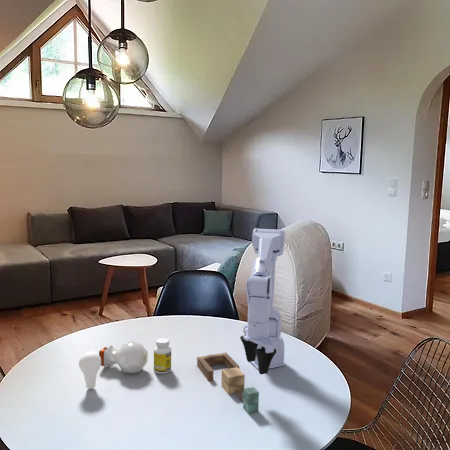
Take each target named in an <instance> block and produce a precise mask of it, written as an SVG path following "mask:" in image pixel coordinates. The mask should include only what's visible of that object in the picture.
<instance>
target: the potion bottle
mask: <svg viewBox="0 0 450 450" xmlns="http://www.w3.org/2000/svg"><path fill="white" fill-rule="evenodd" d="M148 354H149V353H148V350H147V349H146V348H145V346H144V344H142V343H139V342H136V341H130V342H127V343H124V344H122V345H121V347H120V349H115V348H114V347H113V345H110V346H109V347H107V346H104V347H103V348H101V349H100V350H99V351H98V355H99V356H100V358H101V366H100V367H104V368H107V367H108V368H109V369H112V367H114V365H117V366H118V367H119V368H120V370H121V371H122V372H124V373H127V374H131V375H133V374H136V373H139V372H141V371H143V369H144V367H146V365H147V363H148Z"/></svg>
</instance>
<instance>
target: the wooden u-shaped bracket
mask: <svg viewBox="0 0 450 450" xmlns="http://www.w3.org/2000/svg"><path fill="white" fill-rule="evenodd" d="M196 362H197V363H196V367H197V368H198V369H199V370H200V372H201V373H202V375H203V376H204V377H205V379H206V380H207V381H208V382H211V381H214V369H213V368H212V367H213V366H219V365H224V366H225V367H226V368H227V369H230V368H236V367H238V368H239V369H240V365H239V364H238V363H237V362H236V361H235V360H234V359H233V357H231V355H230V354H228V353H227V352H222V353H214V354H207V355H202V356H197V357H196Z"/></svg>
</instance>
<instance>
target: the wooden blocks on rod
mask: <svg viewBox="0 0 450 450" xmlns="http://www.w3.org/2000/svg"><path fill="white" fill-rule="evenodd" d="M245 376H246V375H245V373H244V372H243V371H242V370H241V369H240V367H239V368H238V367H236V368H230V369H228V368H227V369H226V368H225V369H221V387H222V389H223V390H224V391H225V392H226V394H228V395H232V394H235V395H237V397H238V398H239V399H240V400H241V401H242V409H243V410H244V411H245V412H246V414H253V413H254V414H255V413H258V412H259V403H260V402H259V400H260V399H259V398H260V397H259V396H260V392H259V391H258V389H256V387H254V386H252V387H246V388H245ZM241 392H243V393H242V394H243V395H242V394H241Z"/></svg>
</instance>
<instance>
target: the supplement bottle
mask: <svg viewBox="0 0 450 450" xmlns="http://www.w3.org/2000/svg"><path fill="white" fill-rule="evenodd" d="M155 345H156V346H154V348H153V372H155V373H156V374H160V375H164V374H165V375H166V374H169V373H170V372H171V371H172V347H171V346H170V339H168V338H166V337H161V338H157V339H156V341H155Z"/></svg>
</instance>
